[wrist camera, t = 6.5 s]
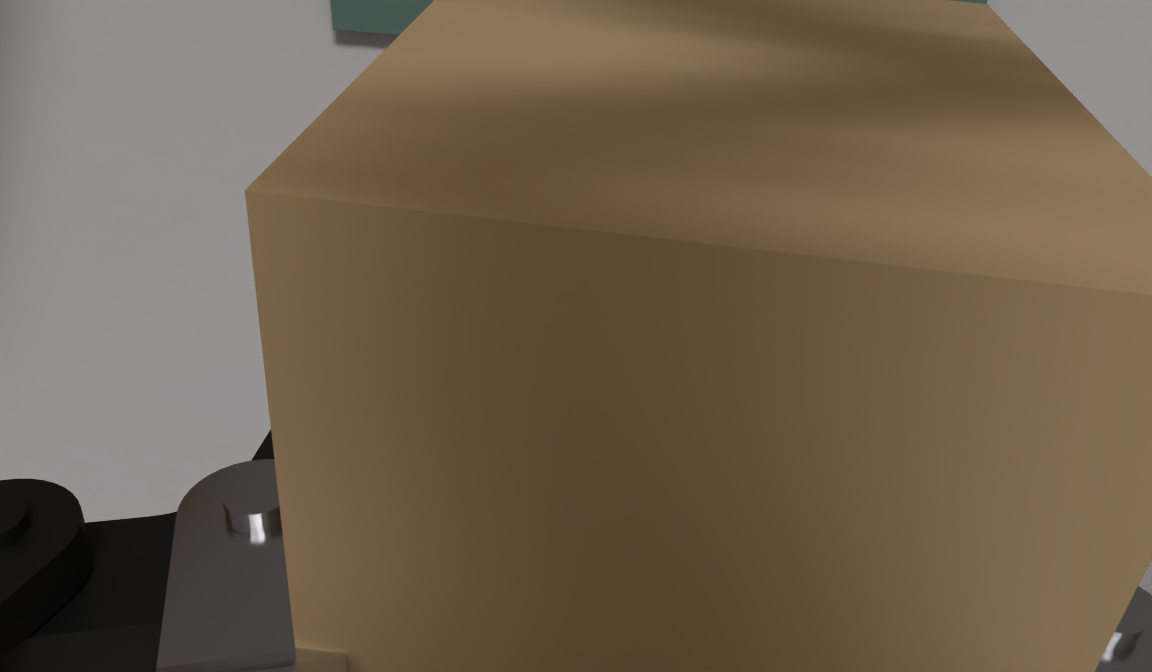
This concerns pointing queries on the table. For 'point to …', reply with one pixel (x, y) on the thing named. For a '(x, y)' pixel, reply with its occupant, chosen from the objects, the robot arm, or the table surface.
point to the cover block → (708, 345)
